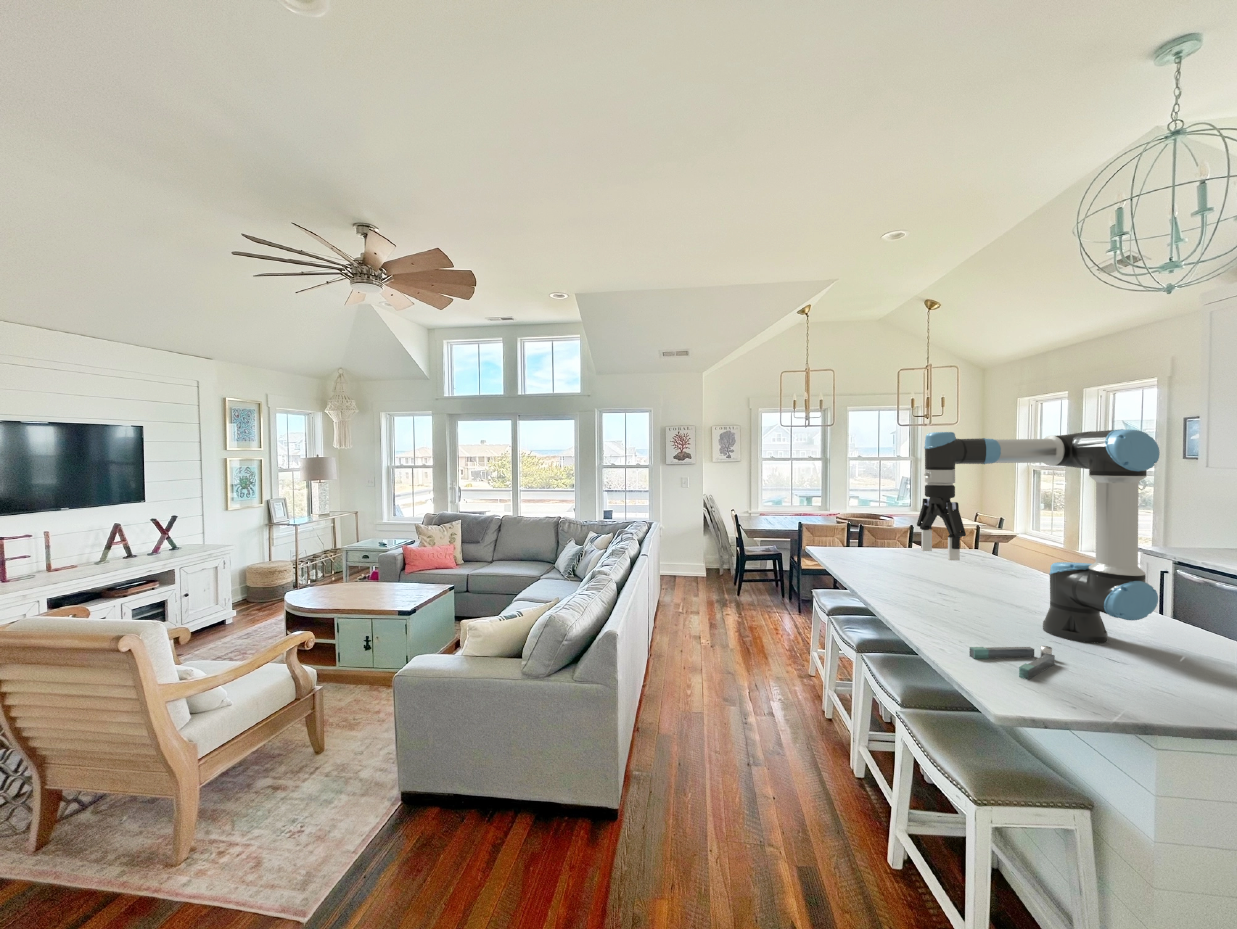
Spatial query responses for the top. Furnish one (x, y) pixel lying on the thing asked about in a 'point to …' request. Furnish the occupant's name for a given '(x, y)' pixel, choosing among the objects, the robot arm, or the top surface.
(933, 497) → the robot arm
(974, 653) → the arm
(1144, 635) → the top surface
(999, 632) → the top surface
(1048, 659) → the tongs free arm
